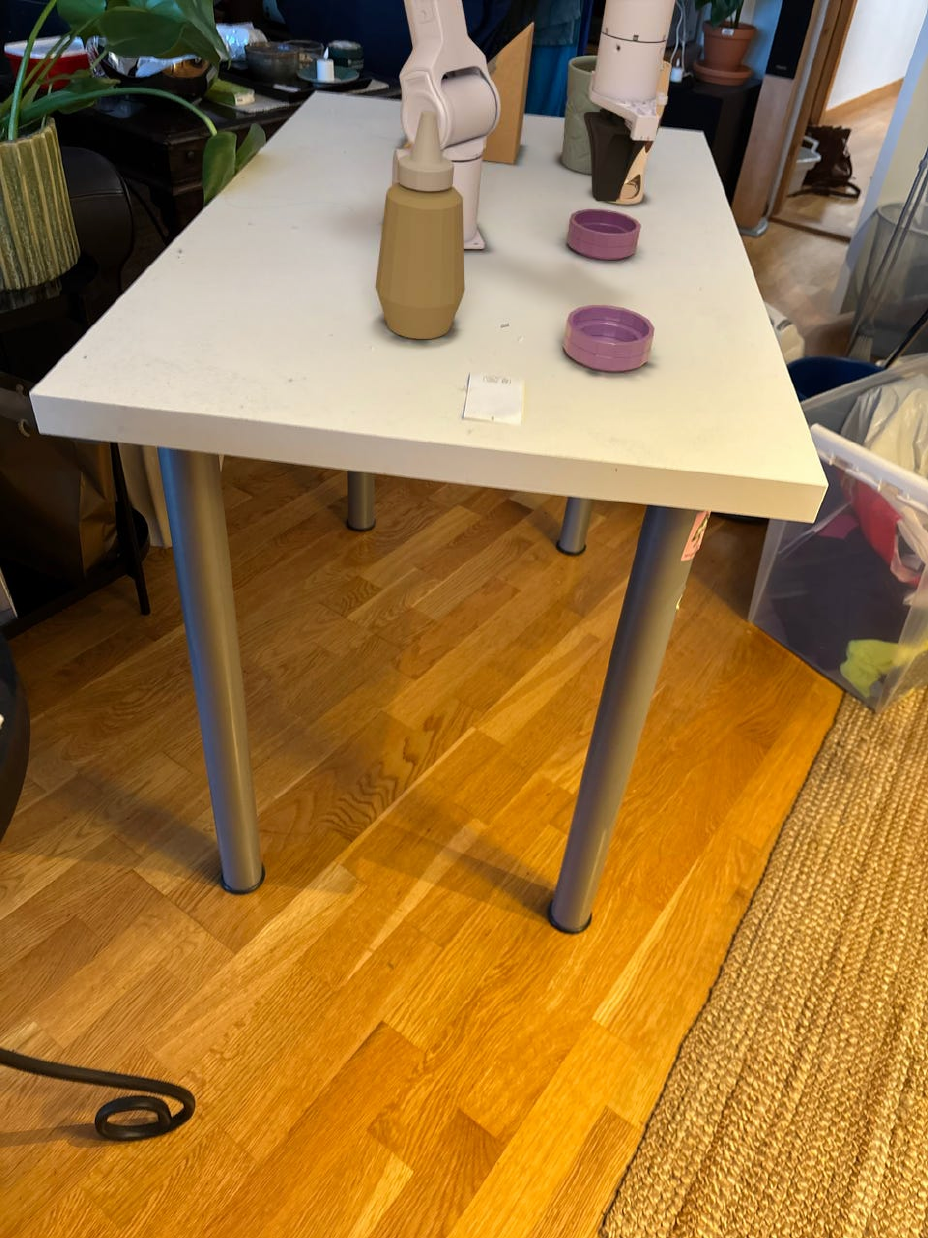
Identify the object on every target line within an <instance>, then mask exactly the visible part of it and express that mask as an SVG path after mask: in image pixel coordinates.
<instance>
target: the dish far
mask: <svg viewBox="0 0 928 1238" xmlns="http://www.w3.org/2000/svg"><path fill="white" fill-rule="evenodd" d="M568 223H569V224H568V227H567V228H568V231H567V235H566V243H567V245H568V246H569V247H570V248H571V249H573V250H574V251H575V252H576V253H578V254H579V255H582V256H584V257H587V258H590V259H594V260H599V261H618V260H622V259H625V258H627V257H630V256H632V255H633V254H636V251H637V247H638V242H639V239H640V233H641V227H642V224H641V223H640V222H639V221H638V220H637V219H636V218H634V217H632V216H631V215H628V214H626V213H623V212H619V211H616V210H610V209H605V208H603V209H602V208H587V209H581V210H577V211H575V212H573V213H571V215H570V217H569V222H568Z"/></svg>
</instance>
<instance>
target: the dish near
mask: <svg viewBox="0 0 928 1238" xmlns="http://www.w3.org/2000/svg"><path fill="white" fill-rule="evenodd" d="M566 319H567V320H566V324H565V332H564V337H563V343H562V344H563V346H562V347H563V349H564V351H565V352H566V355H568V356H569V357H571V358H572V359H573V360H575V361H576V362H578V363H579V364H581V365H582V366H584V367H588V368H589V369H593V370H597V371H601V372H610V373H617V372H618V373H619V372H625V371H629V370H633V369H637V368H640V367H642V366H643V365H644V364H645V363H646V362H648V360H649V357H650V354H651V353H650V352H651V348H652V345H653V340H654V336H655V326H654V324H653V323H652V322H651V320H650V319H648V317H645V316H644V315H642V314H641V313H639V312H636V311H632V310H630V309H627V308H625V307H621V306H614V305H608V304H589V305H585V306H581V307H577V308H575V309H574V310H572V311H571V312H570V313H568V317H567V318H566Z"/></svg>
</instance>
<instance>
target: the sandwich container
mask: <svg viewBox="0 0 928 1238" xmlns="http://www.w3.org/2000/svg"><path fill="white" fill-rule="evenodd" d="M534 28H535V22H534V21H532V22H531V23H530V24H529V25H528V26H526V27H525V28H524V29H523V30H522V31H521V32H520V33H519V34H517V36H515V37H514V38H513V39H511V40H510V42H509V43H508V44H506V45H505V46H504V47H503V48H502V49H501V50H500V51H499V52H498V53H496V55H495V56H494V57H492V59H491V60H489V62H488V63H487V69H488V72H489V75H490V78H491V80H492V81H493V83H494V85H495V87H496V89H497V91H498V94H499V97H500V104H501V112H500V118H499V122H498V124H497V126H496V128H495V130H494V131H493V132H492V133H491V134H490V135H489V136H487V140H486V148H484V149H483V158H482V161H487V162H496V163H503V164H509V165H510V164H511V165H514V164H515V161H516V159H517V157H518V154H519V151H520V147H521V139H522V134H523V133H522V131H523V124H524V116H525V107H526V98H527V90H528V89H527V88H528V81H529V72H530V63H531V56H532V55H531V54H532V46H533V40H534V39H533V37H534ZM410 147H411V144H410V143H409V141H408V140H407V139H406V142H405V144H404V146H403V148H402V149H405V148H410Z"/></svg>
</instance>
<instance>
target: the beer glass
mask: <svg viewBox="0 0 928 1238" xmlns="http://www.w3.org/2000/svg"><path fill="white" fill-rule="evenodd" d="M671 70H672V64H671V63H669V61H666V60H664V59H663V62H662V67H661V72H660V77H659V82H658V87H657V91H660V92H663V93H664V94H665V95H667V96H668V93H669V85H670V78H671V77H670V76H671ZM665 109H666V105H657V109H656V112H657V114H658V115H659V117H660V119H659V124H658V129H657V133H656V136H657V135H658V133H659V130H660V126H661V124H662V120H663V118H664V117H663V116H664V112H665ZM654 143H655V141H648V142H647V143H646V144H645V146H644V147H643V148H642V150H641V151H640V153H639V154H638V156H637V157H636V159H635V161H634V163H633V165H632V167H631V169H630V171H629V173H628V175H627V178H626V180H625V183H624V185H623V187H622V190H621V192H620V194H619V196H618V198H617V200H616V202H608V203H610V204H614V205H623V206H624V205H626V206H629V205H630V206H631V205H636V204H637V205H638V204H639V203H640V202H642V200H643V195H644V178H645V177H644V176H645V171H646V166H647V163H648V160H649V157H650V154H651V151H652V149H653V146H654Z"/></svg>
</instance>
